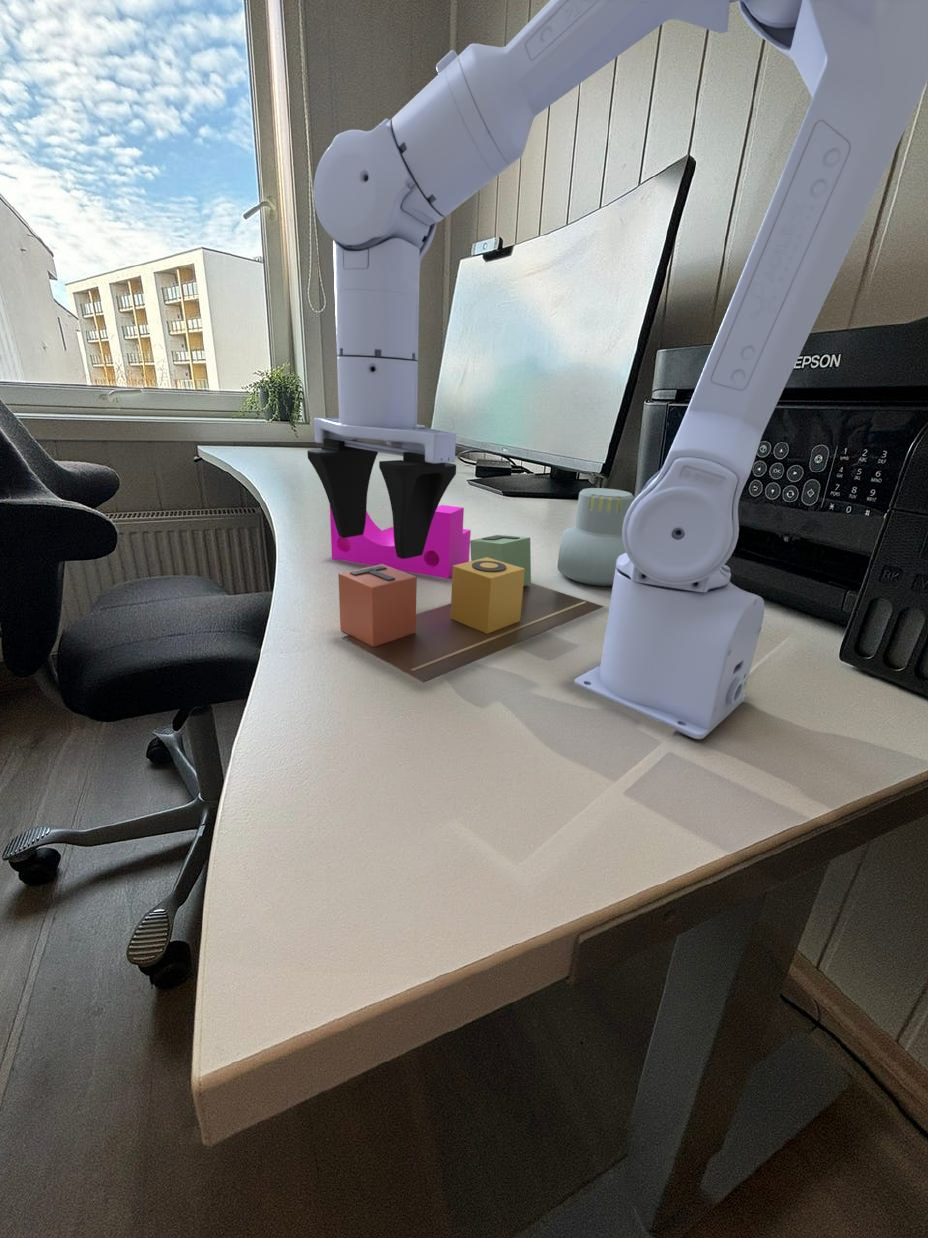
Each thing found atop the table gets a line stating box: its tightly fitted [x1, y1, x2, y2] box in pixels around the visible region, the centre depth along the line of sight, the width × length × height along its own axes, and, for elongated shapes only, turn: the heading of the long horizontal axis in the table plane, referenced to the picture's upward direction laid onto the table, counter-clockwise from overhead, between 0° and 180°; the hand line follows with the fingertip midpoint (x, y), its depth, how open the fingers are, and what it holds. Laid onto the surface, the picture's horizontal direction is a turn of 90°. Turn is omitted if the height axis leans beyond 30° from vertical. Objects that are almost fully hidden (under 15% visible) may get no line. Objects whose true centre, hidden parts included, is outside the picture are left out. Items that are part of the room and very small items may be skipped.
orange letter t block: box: [338, 564, 418, 647], centre depth 46 cm, size 4×4×5 cm
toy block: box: [329, 504, 472, 579], centre depth 66 cm, size 15×6×8 cm, turn 68°
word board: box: [341, 582, 604, 683], centre depth 51 cm, size 10×24×1 cm, turn 136°
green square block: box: [470, 534, 532, 586], centre depth 60 cm, size 4×4×5 cm
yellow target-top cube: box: [450, 557, 525, 634], centre depth 50 cm, size 4×4×5 cm
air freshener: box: [557, 487, 635, 587], centre depth 63 cm, size 11×8×10 cm
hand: (379, 545), depth 45 cm, fingers open, 7 cm apart
